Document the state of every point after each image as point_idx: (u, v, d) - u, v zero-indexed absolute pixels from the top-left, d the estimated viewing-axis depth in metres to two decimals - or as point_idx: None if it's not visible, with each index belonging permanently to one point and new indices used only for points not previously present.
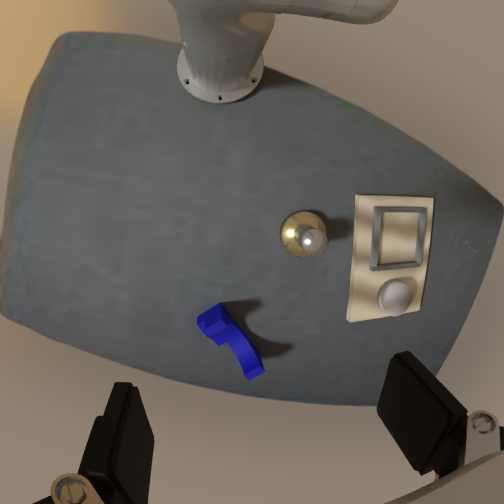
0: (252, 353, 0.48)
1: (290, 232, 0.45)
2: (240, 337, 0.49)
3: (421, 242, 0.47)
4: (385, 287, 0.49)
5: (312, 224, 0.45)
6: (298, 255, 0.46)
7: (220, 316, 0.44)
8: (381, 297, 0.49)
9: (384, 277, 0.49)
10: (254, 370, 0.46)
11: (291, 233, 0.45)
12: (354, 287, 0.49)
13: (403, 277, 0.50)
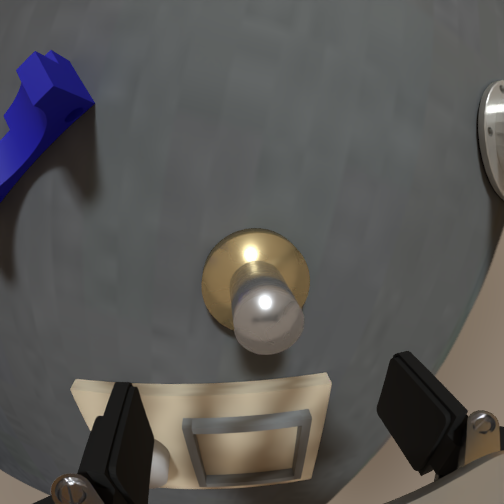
0: None
1: (265, 254, 0.19)
2: (16, 160, 0.15)
3: (242, 483, 0.24)
4: None
5: None
6: (206, 275, 0.19)
7: (61, 87, 0.12)
8: None
9: (169, 441, 0.23)
10: None
11: (261, 255, 0.19)
12: (141, 396, 0.21)
13: (174, 465, 0.24)
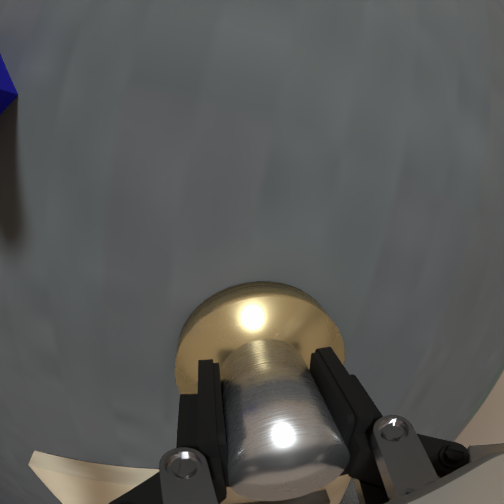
0: None
1: (278, 328, 0.11)
2: None
3: None
4: None
5: None
6: (180, 361, 0.11)
7: None
8: None
9: None
10: None
11: (272, 331, 0.11)
12: (112, 484, 0.13)
13: None
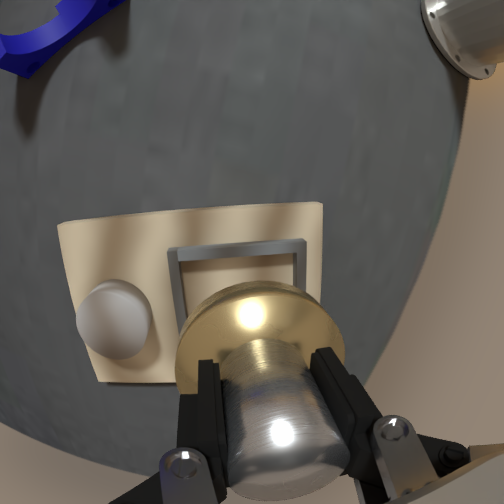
0: (30, 49, 0.15)
1: (278, 328, 0.11)
2: (62, 31, 0.17)
3: None
4: (133, 292, 0.23)
5: None
6: (180, 360, 0.11)
7: None
8: (111, 285, 0.22)
9: (153, 289, 0.24)
10: (1, 46, 0.13)
11: (272, 330, 0.11)
12: (128, 219, 0.22)
13: (156, 334, 0.25)
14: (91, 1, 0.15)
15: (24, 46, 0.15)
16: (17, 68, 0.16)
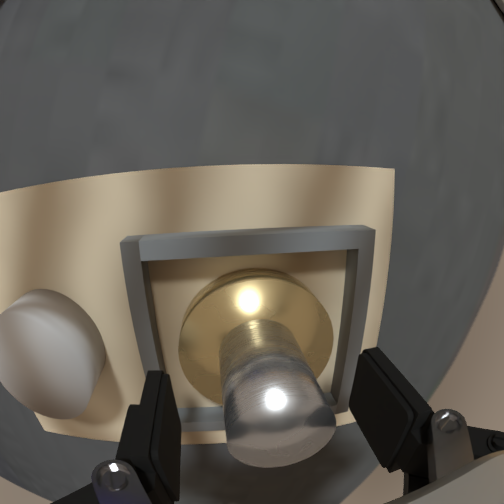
0: None
1: (272, 309, 0.12)
2: None
3: None
4: (67, 314, 0.12)
5: None
6: (184, 340, 0.12)
7: None
8: (33, 300, 0.11)
9: (103, 309, 0.13)
10: None
11: (266, 312, 0.12)
12: (62, 185, 0.11)
13: (115, 380, 0.14)
14: None
15: None
16: None
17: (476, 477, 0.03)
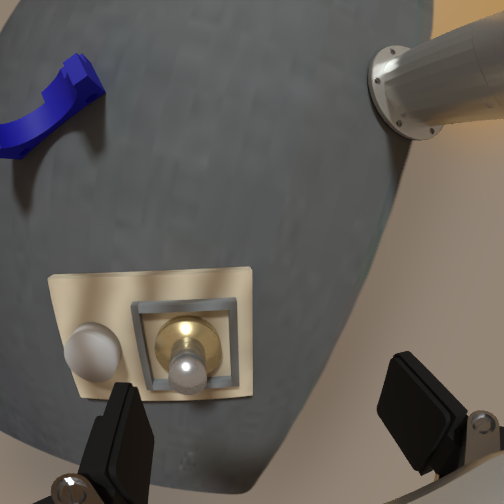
0: (21, 140, 0.22)
1: (191, 333, 0.29)
2: (47, 123, 0.23)
3: None
4: (106, 333, 0.28)
5: None
6: (156, 344, 0.29)
7: (90, 78, 0.20)
8: (89, 327, 0.27)
9: (121, 331, 0.29)
10: None
11: (189, 334, 0.29)
12: (101, 278, 0.28)
13: (125, 364, 0.30)
14: (71, 99, 0.22)
15: (16, 136, 0.21)
16: (11, 155, 0.22)
17: (476, 477, 0.03)
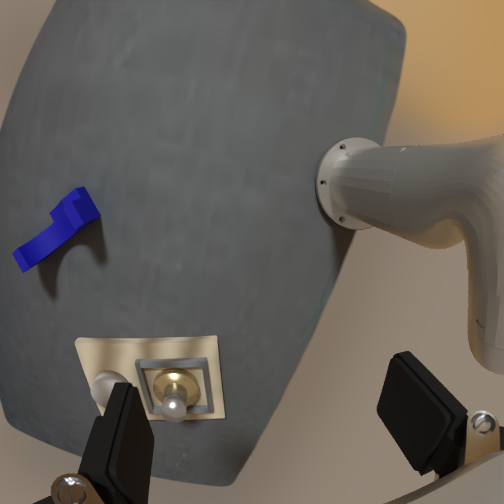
0: (42, 255, 0.33)
1: (177, 380, 0.40)
2: (59, 239, 0.34)
3: None
4: (119, 379, 0.40)
5: (187, 397, 0.41)
6: (154, 387, 0.40)
7: (86, 220, 0.31)
8: (107, 375, 0.39)
9: (129, 376, 0.41)
10: (23, 260, 0.30)
11: (175, 381, 0.40)
12: (113, 344, 0.39)
13: None
14: None
15: (37, 252, 0.33)
16: (36, 263, 0.33)
17: (476, 477, 0.03)
